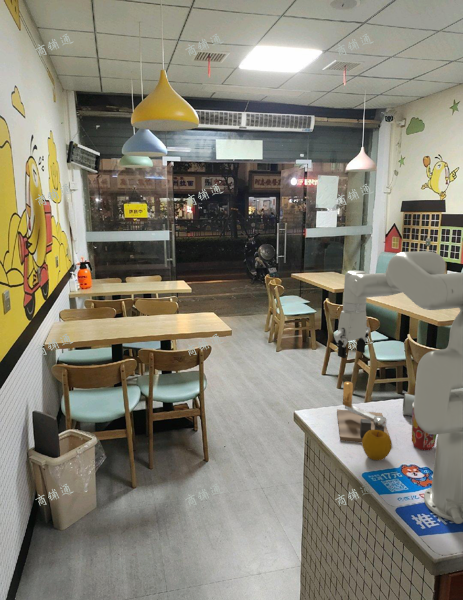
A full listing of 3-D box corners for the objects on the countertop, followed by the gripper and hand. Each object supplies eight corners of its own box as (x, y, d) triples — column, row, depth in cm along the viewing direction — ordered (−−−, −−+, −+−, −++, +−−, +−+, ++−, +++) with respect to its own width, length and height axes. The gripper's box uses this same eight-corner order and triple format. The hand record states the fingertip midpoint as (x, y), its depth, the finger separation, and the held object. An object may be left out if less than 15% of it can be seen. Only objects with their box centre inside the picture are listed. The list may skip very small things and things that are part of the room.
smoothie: (440, 454, 133) (446, 394, 129) (411, 451, 135) (417, 392, 131) (433, 440, 141) (439, 383, 137) (406, 438, 143) (411, 381, 139)
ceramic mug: (427, 421, 154) (429, 401, 153) (403, 418, 157) (405, 398, 155) (424, 409, 164) (425, 390, 163) (401, 406, 167) (402, 387, 165)
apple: (372, 468, 126) (374, 441, 124) (355, 453, 134) (356, 427, 132) (396, 463, 129) (398, 436, 127) (377, 448, 137) (379, 423, 135)
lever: (388, 424, 143) (390, 397, 141) (380, 428, 141) (383, 400, 139) (347, 405, 157) (348, 380, 155) (339, 408, 155) (341, 383, 153)
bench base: (391, 445, 139) (392, 425, 137) (340, 440, 141) (341, 421, 140) (381, 416, 158) (382, 399, 156) (336, 413, 161) (337, 395, 159)
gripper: (362, 301, 154) (358, 347, 158) (328, 308, 145) (325, 356, 149) (379, 305, 148) (375, 352, 152) (345, 312, 139) (342, 362, 143)
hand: (351, 354), depth 150 cm, fingers open, 9 cm apart
